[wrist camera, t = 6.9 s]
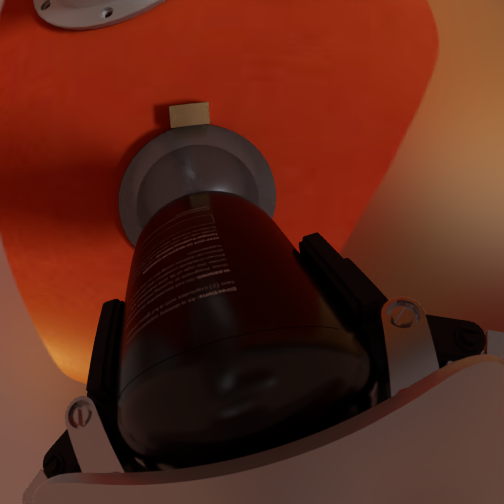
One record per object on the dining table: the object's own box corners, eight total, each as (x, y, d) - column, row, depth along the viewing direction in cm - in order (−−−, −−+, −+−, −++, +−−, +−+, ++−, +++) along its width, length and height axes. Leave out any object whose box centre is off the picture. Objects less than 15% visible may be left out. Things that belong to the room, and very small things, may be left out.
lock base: (107, 119, 14) (102, 119, 13) (270, 99, 16) (276, 99, 15) (143, 289, 21) (142, 298, 20) (271, 269, 23) (275, 276, 22)
